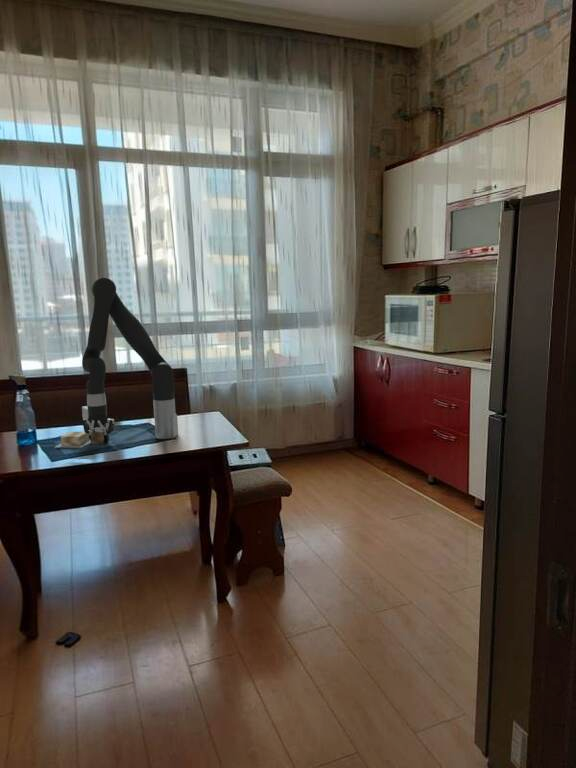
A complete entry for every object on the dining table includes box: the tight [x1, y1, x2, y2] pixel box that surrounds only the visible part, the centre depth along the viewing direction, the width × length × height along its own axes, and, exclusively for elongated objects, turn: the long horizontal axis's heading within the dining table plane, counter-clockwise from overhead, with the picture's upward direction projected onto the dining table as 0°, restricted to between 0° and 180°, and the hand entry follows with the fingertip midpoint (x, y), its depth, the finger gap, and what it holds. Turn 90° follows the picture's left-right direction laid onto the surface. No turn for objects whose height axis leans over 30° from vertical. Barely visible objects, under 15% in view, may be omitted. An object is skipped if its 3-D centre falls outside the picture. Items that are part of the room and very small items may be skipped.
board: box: [55, 438, 92, 449], centre depth 218 cm, size 12×12×1 cm
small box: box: [81, 405, 101, 436], centre depth 234 cm, size 8×6×13 cm
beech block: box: [60, 431, 90, 446], centre depth 217 cm, size 8×8×4 cm
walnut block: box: [91, 430, 105, 445], centre depth 218 cm, size 5×5×6 cm
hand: (100, 442), depth 218 cm, fingers closed on walnut block, 5 cm apart
